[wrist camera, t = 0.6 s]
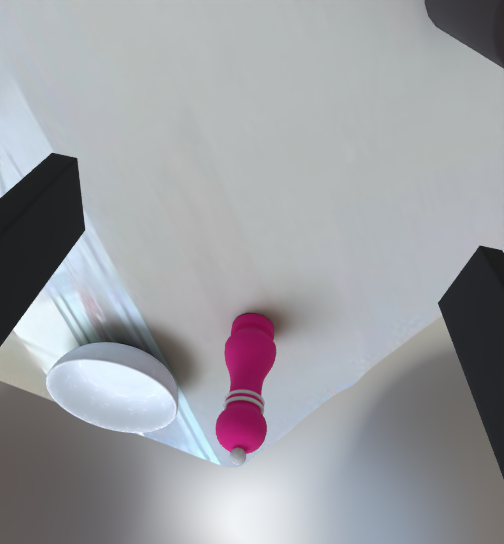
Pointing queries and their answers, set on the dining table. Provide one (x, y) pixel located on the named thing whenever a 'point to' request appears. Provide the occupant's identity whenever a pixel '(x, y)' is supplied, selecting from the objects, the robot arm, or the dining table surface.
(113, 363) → the serving bowl
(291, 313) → the dining table surface
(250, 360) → the pepper mill
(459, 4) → the bottle
